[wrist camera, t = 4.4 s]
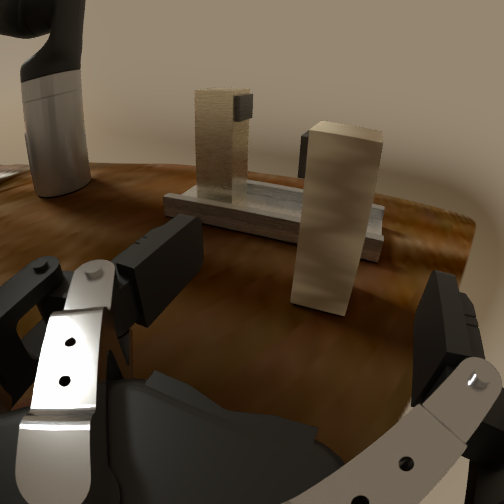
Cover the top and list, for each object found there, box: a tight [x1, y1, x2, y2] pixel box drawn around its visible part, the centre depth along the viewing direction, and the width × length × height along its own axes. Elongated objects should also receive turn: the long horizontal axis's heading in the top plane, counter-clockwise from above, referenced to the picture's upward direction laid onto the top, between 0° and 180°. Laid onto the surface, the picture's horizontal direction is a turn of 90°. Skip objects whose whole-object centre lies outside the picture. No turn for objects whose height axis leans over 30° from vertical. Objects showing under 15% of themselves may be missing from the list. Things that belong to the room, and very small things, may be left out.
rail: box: [163, 88, 384, 262], centre depth 30 cm, size 22×8×13 cm, turn 69°
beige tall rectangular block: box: [290, 121, 383, 316], centre depth 21 cm, size 4×4×12 cm
